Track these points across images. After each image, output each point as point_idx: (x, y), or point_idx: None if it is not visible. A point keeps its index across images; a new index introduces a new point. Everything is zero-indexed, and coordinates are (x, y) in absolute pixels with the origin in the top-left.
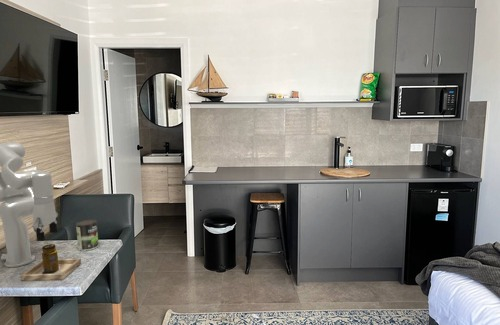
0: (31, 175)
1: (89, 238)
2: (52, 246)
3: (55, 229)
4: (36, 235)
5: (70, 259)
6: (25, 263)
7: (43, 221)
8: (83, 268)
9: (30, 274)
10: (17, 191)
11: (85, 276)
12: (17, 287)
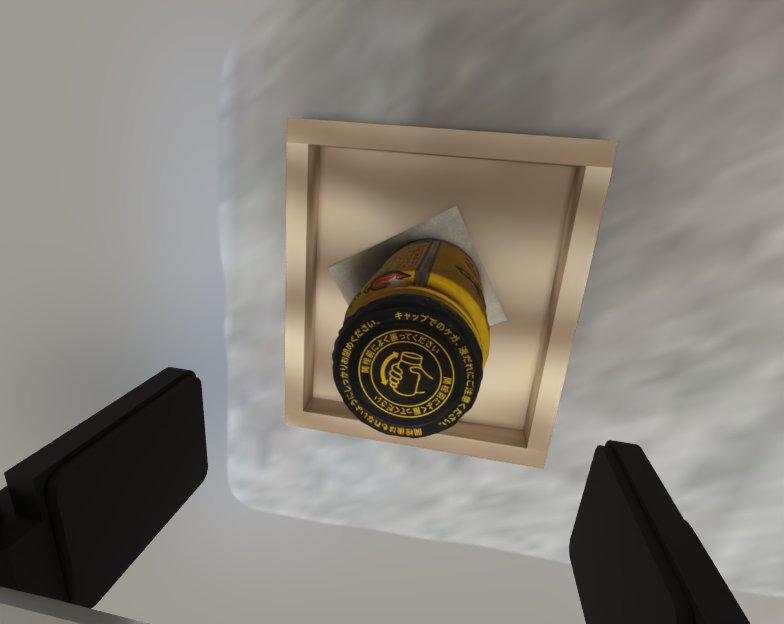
0: None
1: None
2: (380, 425)
3: (585, 604)
4: (89, 418)
5: (550, 397)
6: None
7: None
8: (450, 475)
9: (306, 193)
10: None
11: (335, 509)
12: (219, 154)
